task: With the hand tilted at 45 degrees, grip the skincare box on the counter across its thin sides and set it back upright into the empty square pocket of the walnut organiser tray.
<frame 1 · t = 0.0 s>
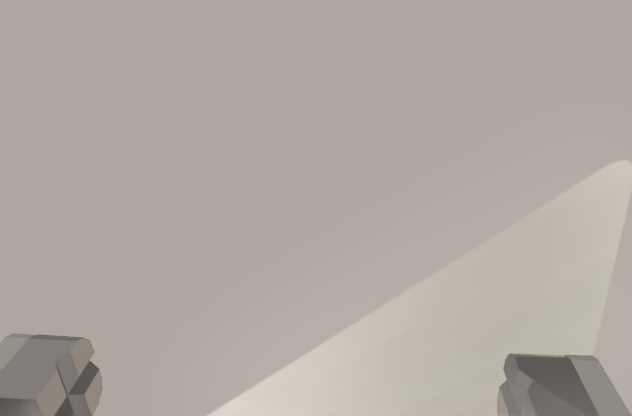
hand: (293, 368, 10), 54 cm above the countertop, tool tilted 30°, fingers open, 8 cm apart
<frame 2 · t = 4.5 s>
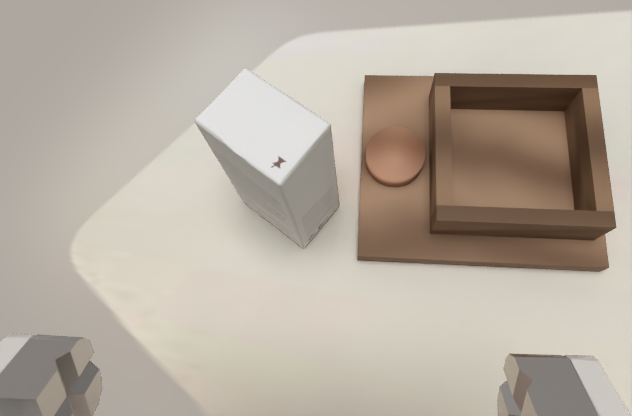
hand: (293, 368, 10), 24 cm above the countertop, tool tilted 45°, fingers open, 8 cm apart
organiser tray: (472, 170, 36), on the countertop
skincare box: (290, 203, 37), on the countertop
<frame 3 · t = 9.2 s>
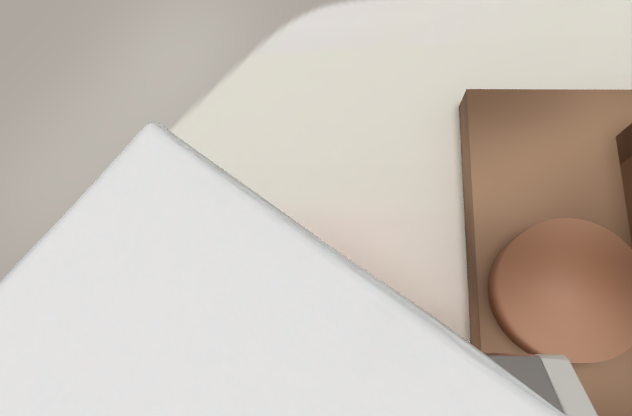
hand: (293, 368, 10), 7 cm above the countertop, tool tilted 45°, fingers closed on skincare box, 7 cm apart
skincare box: (314, 386, 16), on the countertop, touching gripper
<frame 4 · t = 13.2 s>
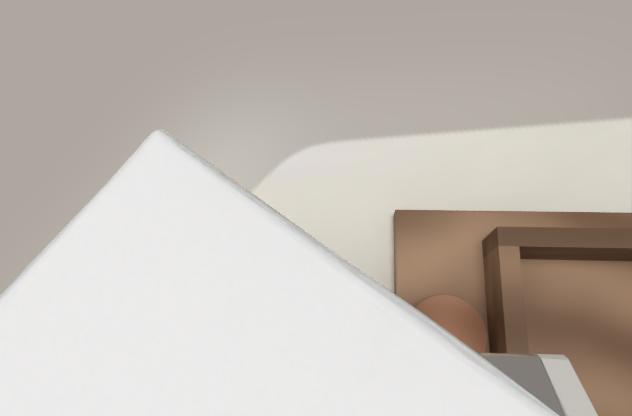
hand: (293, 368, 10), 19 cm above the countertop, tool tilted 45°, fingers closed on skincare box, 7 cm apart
organiser tray: (543, 340, 27), on the countertop
skincare box: (312, 386, 16), point 12 cm above the countertop, touching gripper
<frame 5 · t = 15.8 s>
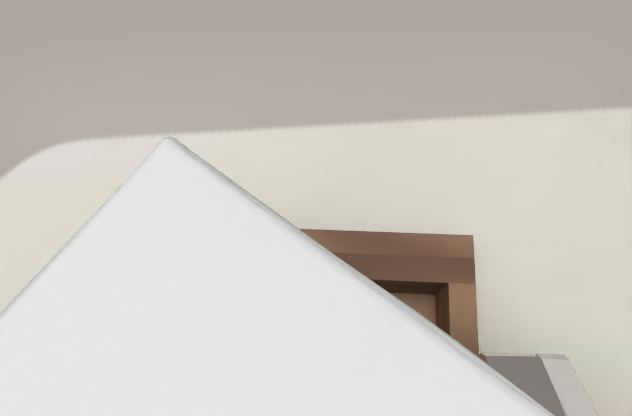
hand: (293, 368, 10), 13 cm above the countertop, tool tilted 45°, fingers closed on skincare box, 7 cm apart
organiser tray: (288, 388, 22), on the countertop
skincare box: (313, 385, 17), point 6 cm above the countertop, touching gripper
when the fingers open (9 cm above the countertop, at t = 17.7 s): skincare box stays where it is, resting on organiser tray.
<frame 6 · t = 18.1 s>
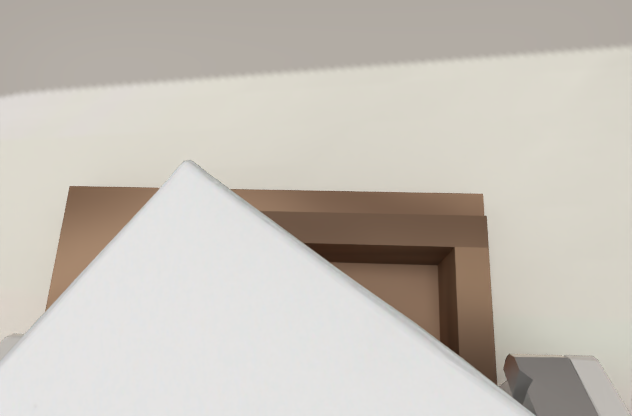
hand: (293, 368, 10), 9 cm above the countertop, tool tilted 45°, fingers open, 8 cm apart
organiser tray: (262, 381, 18), on the countertop
skincare box: (316, 385, 17), point 1 cm above the countertop, touching organiser tray
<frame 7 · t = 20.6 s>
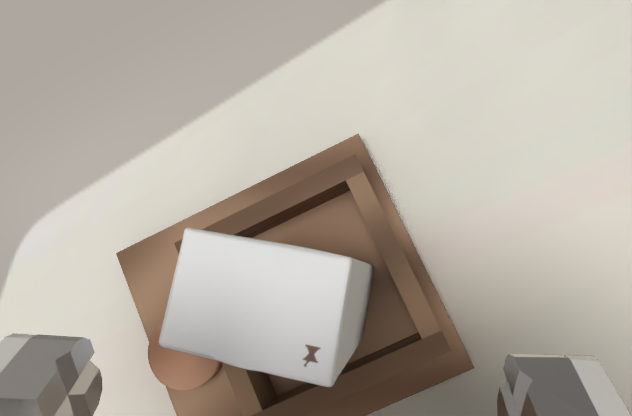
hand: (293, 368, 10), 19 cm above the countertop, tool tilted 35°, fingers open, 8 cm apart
organiser tray: (287, 305, 29), on the countertop
skincare box: (315, 291, 28), point 1 cm above the countertop, touching organiser tray
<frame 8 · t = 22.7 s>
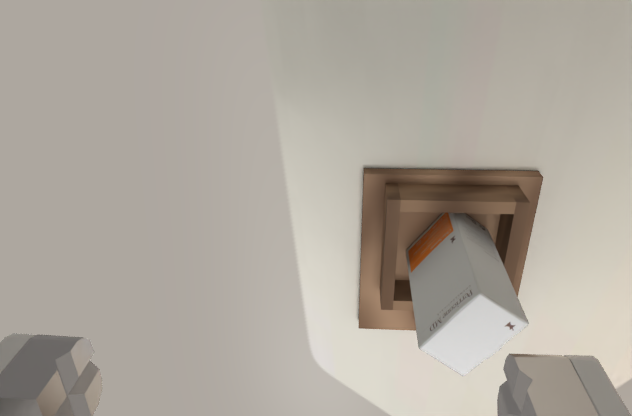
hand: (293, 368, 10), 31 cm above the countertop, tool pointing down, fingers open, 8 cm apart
organiser tray: (440, 252, 45), on the countertop
skincare box: (444, 238, 43), point 1 cm above the countertop, touching organiser tray
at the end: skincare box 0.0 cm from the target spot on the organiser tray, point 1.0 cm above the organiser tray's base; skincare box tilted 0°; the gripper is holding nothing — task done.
